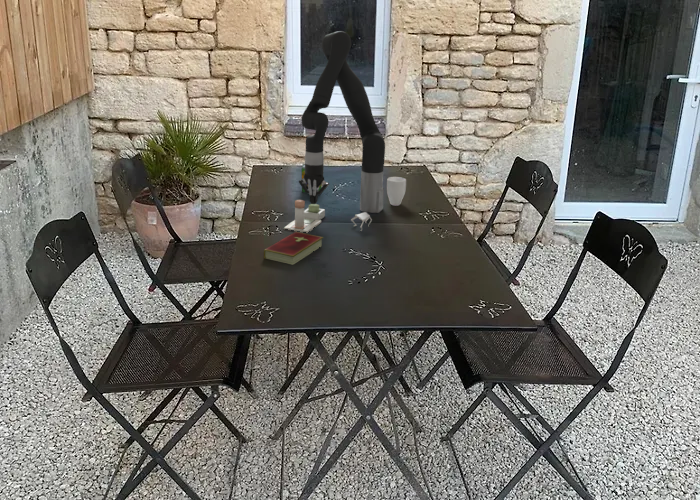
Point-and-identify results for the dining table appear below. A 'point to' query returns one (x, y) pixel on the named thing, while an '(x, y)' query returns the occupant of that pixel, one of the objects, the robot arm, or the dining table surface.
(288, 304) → the dining table surface
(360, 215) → the origami figure
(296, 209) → the marker
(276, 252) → the hardcover book
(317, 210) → the button
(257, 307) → the dining table surface
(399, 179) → the mug
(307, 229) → the colouring board
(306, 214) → the button housing
